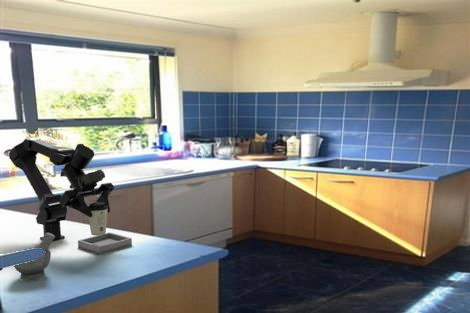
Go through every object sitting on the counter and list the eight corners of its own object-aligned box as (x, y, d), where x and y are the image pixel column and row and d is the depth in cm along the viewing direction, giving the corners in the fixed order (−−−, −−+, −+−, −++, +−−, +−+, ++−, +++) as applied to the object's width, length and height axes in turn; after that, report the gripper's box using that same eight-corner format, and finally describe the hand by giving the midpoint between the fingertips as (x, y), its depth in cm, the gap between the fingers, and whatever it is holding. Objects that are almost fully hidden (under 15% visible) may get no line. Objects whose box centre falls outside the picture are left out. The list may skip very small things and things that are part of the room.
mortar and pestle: (12, 285, 117) (9, 241, 116) (13, 274, 126) (10, 233, 125) (58, 278, 122) (55, 236, 121) (56, 267, 130) (53, 228, 129)
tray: (78, 247, 150) (77, 240, 149) (110, 239, 159) (109, 232, 159) (99, 255, 142) (99, 247, 141) (131, 245, 151) (131, 238, 151)
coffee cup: (108, 235, 144) (107, 205, 143) (85, 237, 142) (84, 206, 141) (110, 230, 150) (109, 201, 149) (89, 231, 149) (87, 202, 148)
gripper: (63, 165, 138) (87, 204, 133) (110, 159, 154) (133, 194, 149) (49, 187, 143) (72, 226, 139) (95, 179, 159) (118, 214, 154)
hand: (100, 214), depth 145 cm, fingers closed on coffee cup, 7 cm apart
